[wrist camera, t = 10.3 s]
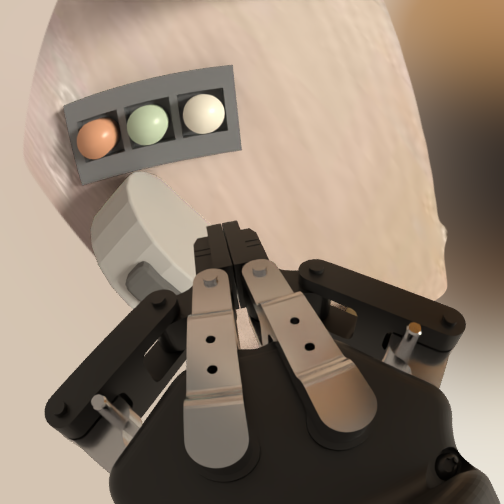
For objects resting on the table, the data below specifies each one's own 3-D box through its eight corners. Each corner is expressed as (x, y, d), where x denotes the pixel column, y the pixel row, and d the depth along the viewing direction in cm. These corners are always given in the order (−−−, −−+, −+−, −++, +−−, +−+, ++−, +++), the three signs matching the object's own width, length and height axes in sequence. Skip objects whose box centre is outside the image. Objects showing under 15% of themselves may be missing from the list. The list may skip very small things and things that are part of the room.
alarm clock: (108, 194, 39) (64, 271, 22) (139, 158, 37) (105, 216, 21) (203, 272, 50) (217, 364, 34) (234, 245, 48) (263, 334, 32)
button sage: (130, 109, 32) (123, 111, 28) (166, 100, 33) (163, 101, 29) (137, 143, 35) (131, 149, 31) (171, 134, 35) (170, 140, 32)
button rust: (84, 123, 31) (73, 127, 27) (116, 112, 32) (108, 115, 28) (91, 155, 34) (81, 163, 30) (123, 146, 34) (116, 153, 31)
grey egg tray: (71, 104, 30) (63, 105, 27) (229, 66, 33) (232, 64, 30) (88, 179, 37) (82, 185, 34) (238, 146, 39) (241, 150, 37)
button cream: (181, 97, 33) (180, 98, 29) (218, 91, 34) (222, 91, 30) (186, 132, 36) (186, 137, 32) (222, 125, 36) (226, 130, 33)
